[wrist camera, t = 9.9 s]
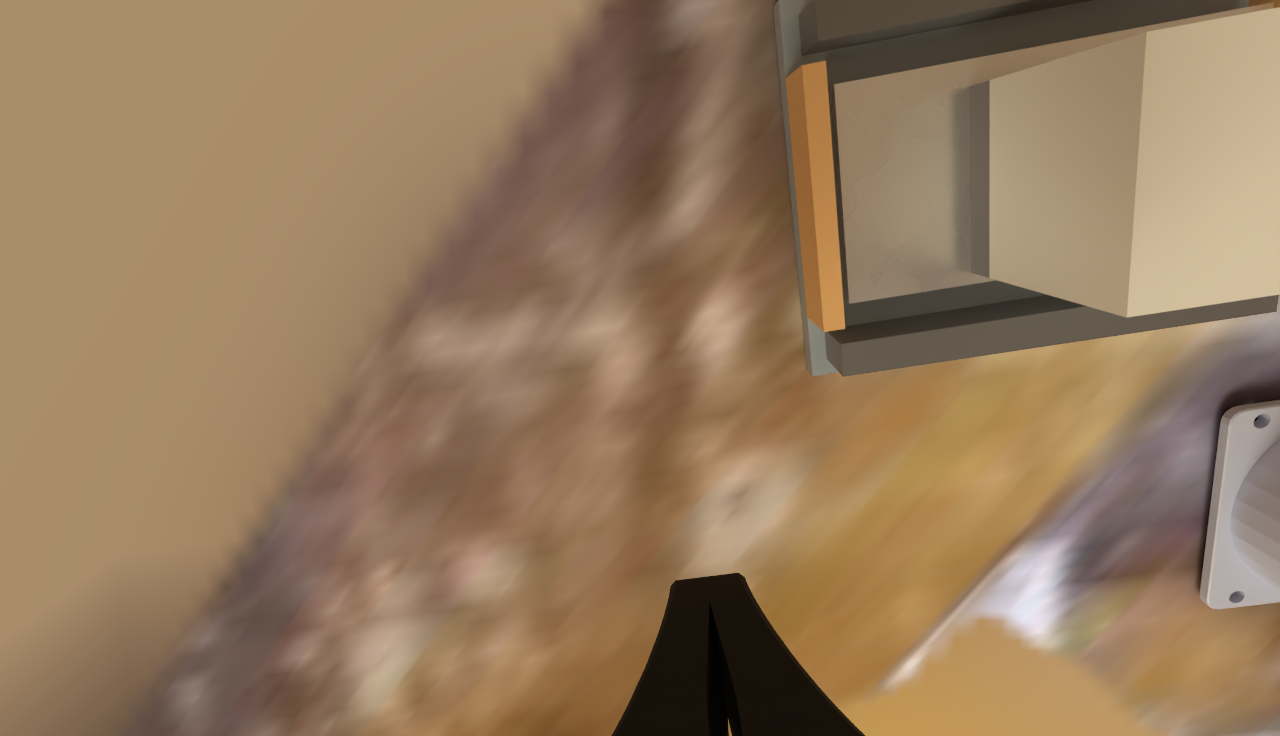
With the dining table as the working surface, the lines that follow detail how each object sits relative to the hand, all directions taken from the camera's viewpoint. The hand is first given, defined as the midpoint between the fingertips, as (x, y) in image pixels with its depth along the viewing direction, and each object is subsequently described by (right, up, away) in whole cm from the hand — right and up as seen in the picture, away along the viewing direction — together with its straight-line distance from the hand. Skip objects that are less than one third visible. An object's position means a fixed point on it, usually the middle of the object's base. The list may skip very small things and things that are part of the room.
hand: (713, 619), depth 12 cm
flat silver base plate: (+10, +11, +6) cm, 16 cm away
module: (+10, +10, +5) cm, 15 cm away
